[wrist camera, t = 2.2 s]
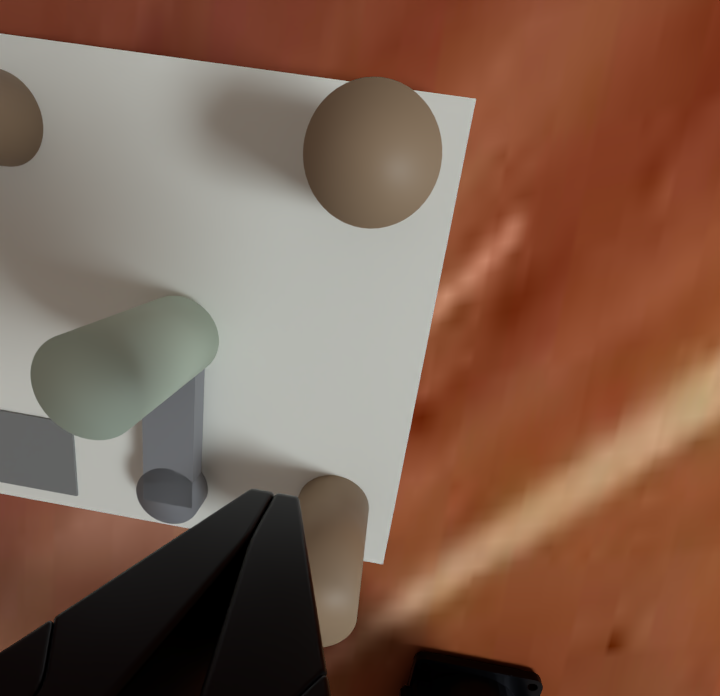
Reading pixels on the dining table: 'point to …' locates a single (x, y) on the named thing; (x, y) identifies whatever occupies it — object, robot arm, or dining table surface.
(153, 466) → the hinged leg
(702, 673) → the dining table surface
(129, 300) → the stool seat
